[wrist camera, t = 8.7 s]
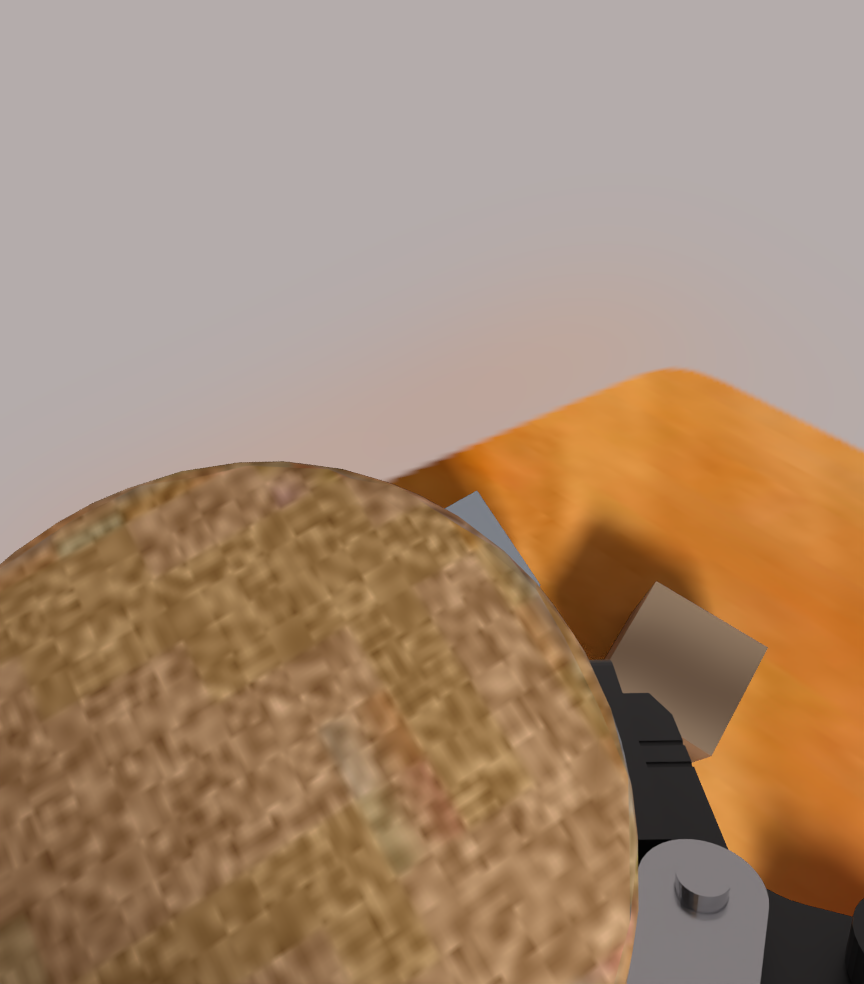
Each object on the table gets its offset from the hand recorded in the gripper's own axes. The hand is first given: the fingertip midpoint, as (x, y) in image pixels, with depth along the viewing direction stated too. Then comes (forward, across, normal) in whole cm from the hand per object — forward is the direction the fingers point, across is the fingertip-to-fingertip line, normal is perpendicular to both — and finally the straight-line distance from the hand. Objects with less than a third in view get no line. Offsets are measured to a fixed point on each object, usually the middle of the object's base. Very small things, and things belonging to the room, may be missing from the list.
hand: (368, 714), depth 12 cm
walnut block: (+21, -10, +14) cm, 28 cm away
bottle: (+4, 0, +6) cm, 8 cm away
